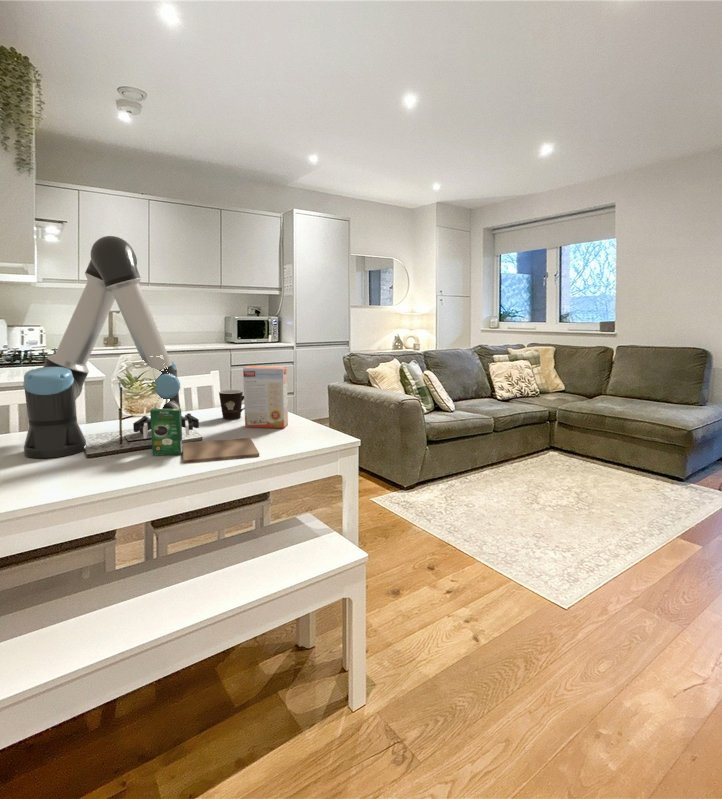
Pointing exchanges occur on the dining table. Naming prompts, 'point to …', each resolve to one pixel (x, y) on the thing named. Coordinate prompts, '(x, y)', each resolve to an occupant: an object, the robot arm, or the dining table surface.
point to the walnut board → (219, 450)
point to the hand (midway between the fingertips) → (166, 431)
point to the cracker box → (265, 396)
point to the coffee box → (166, 431)
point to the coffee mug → (231, 404)
